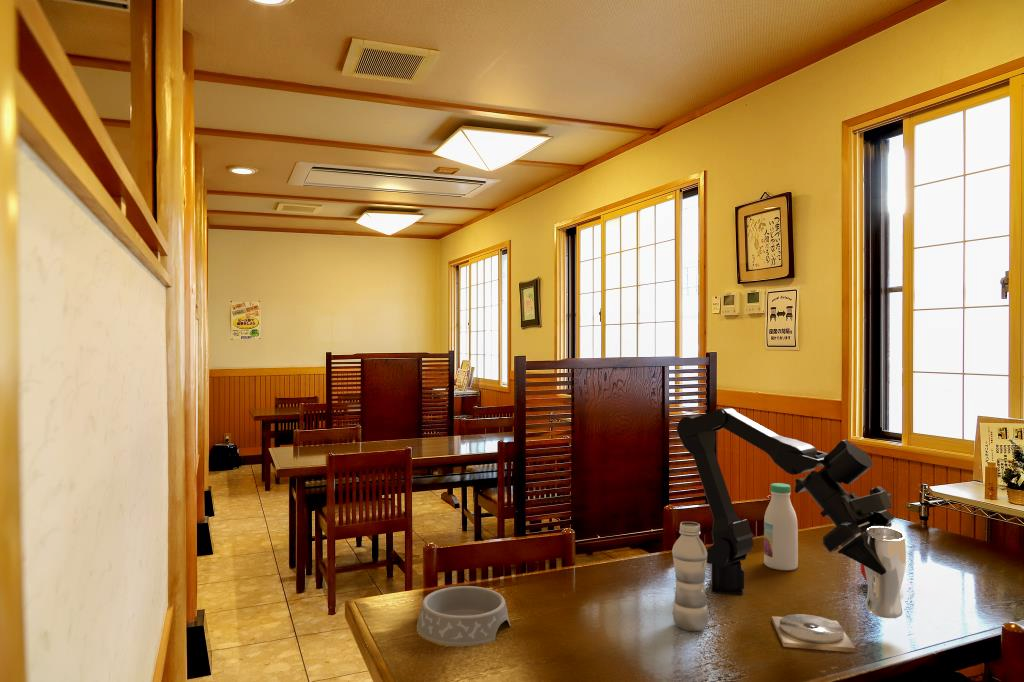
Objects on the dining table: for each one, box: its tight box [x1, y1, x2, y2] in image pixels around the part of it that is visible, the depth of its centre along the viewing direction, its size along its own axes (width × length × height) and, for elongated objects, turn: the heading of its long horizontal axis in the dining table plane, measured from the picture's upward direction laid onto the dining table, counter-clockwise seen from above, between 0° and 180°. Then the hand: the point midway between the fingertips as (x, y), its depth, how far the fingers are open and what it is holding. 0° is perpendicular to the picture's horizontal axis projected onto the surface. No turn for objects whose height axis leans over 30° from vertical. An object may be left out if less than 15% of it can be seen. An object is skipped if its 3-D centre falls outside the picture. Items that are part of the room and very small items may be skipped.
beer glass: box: [864, 526, 907, 619], centre depth 127 cm, size 7×7×15 cm
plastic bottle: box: [671, 521, 710, 632], centre depth 131 cm, size 6×7×20 cm
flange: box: [780, 613, 845, 644], centre depth 128 cm, size 11×11×1 cm
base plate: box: [771, 615, 856, 653], centre depth 128 cm, size 12×12×1 cm
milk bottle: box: [763, 482, 799, 571], centre depth 168 cm, size 8×8×20 cm
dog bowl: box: [416, 585, 511, 648], centre depth 133 cm, size 17×18×5 cm
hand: (892, 569), depth 125 cm, fingers closed on beer glass, 7 cm apart
